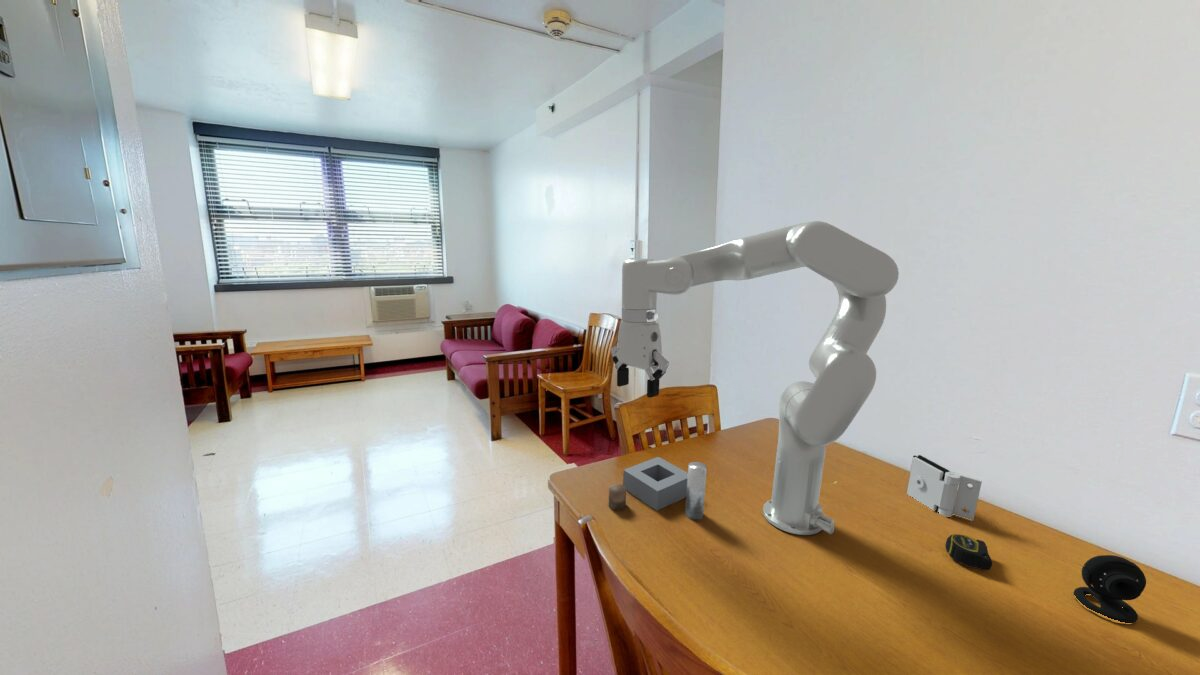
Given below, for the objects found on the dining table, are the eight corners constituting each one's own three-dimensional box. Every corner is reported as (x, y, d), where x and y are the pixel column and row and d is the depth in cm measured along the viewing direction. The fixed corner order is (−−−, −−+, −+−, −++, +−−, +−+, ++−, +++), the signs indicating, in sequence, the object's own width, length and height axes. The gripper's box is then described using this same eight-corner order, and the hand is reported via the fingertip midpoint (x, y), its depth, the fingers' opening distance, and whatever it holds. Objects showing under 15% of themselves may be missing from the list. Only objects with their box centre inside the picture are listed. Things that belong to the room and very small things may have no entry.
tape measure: (990, 577, 85) (994, 560, 84) (945, 562, 89) (948, 546, 88) (984, 556, 91) (988, 540, 90) (942, 543, 94) (946, 528, 93)
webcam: (1088, 617, 76) (1103, 566, 74) (1062, 586, 83) (1075, 538, 81) (1150, 632, 73) (1168, 579, 71) (1118, 598, 80) (1133, 549, 78)
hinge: (975, 521, 102) (983, 481, 100) (960, 526, 100) (969, 485, 98) (913, 490, 115) (919, 453, 112) (899, 494, 113) (905, 457, 110)
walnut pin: (629, 506, 105) (629, 489, 104) (615, 512, 103) (616, 494, 102) (618, 498, 108) (618, 481, 107) (605, 504, 106) (605, 487, 105)
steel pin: (706, 515, 102) (710, 467, 100) (695, 522, 100) (698, 472, 97) (693, 507, 105) (696, 460, 103) (681, 513, 103) (684, 465, 100)
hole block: (691, 494, 111) (693, 475, 110) (656, 510, 104) (657, 491, 102) (657, 474, 120) (658, 456, 119) (622, 488, 113) (623, 469, 112)
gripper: (680, 319, 94) (677, 397, 98) (624, 309, 107) (623, 378, 111) (655, 323, 90) (653, 404, 93) (600, 312, 103) (600, 384, 106)
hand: (637, 390), depth 102 cm, fingers open, 9 cm apart
